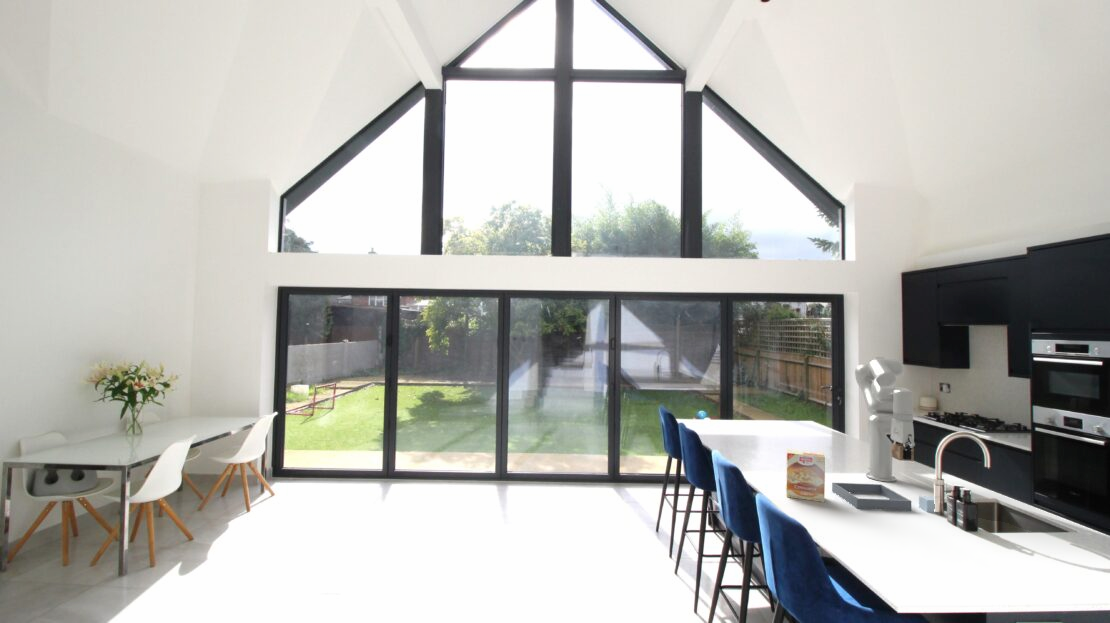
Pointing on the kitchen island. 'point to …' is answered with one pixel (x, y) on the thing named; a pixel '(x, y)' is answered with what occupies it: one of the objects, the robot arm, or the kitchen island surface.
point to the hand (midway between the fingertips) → (902, 456)
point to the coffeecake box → (805, 475)
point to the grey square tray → (884, 504)
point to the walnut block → (900, 452)
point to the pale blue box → (926, 503)
